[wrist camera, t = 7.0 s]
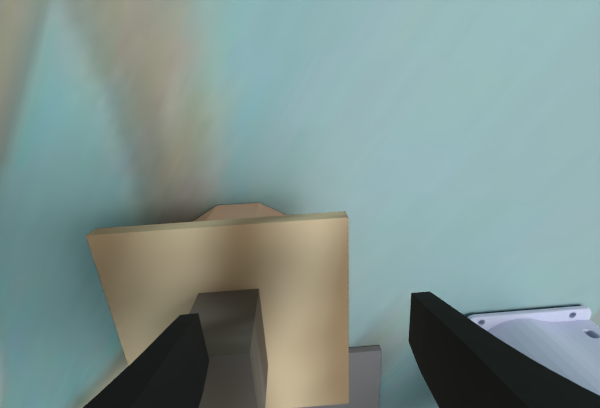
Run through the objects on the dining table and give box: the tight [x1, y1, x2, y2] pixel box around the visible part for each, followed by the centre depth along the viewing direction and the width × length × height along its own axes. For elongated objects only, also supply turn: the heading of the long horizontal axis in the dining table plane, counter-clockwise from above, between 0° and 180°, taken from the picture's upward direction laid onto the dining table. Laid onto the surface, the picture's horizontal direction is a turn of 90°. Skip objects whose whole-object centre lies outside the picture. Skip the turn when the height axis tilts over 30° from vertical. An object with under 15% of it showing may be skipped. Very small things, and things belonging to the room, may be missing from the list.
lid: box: [86, 211, 349, 408], centre depth 14 cm, size 12×12×5 cm
